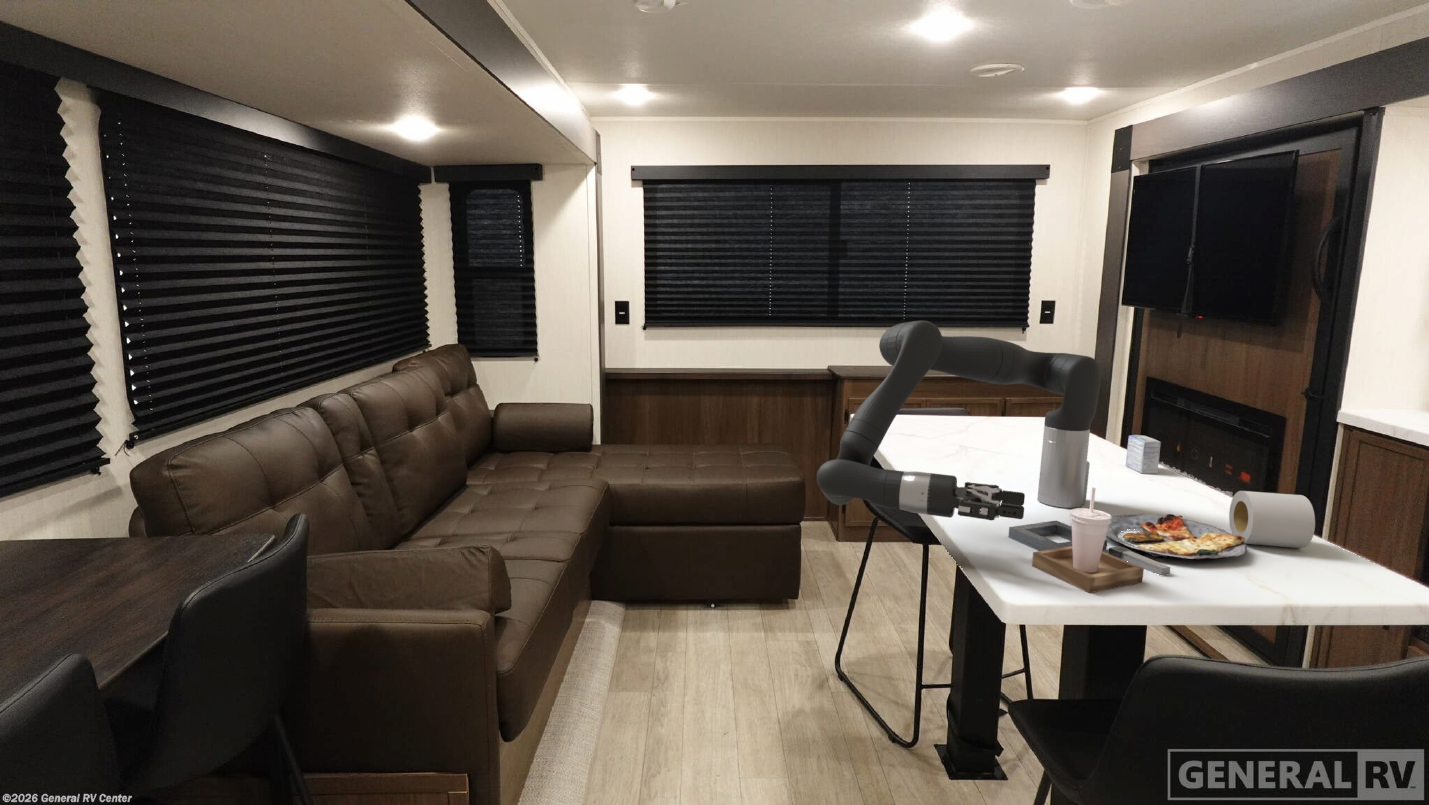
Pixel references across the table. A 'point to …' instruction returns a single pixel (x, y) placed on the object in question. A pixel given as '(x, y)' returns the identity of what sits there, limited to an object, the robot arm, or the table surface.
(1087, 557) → the smoothie
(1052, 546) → the socket
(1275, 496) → the toilet paper
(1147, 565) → the bar
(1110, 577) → the tray
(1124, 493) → the table surface
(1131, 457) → the medicine box
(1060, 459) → the robot arm
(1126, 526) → the food plate
